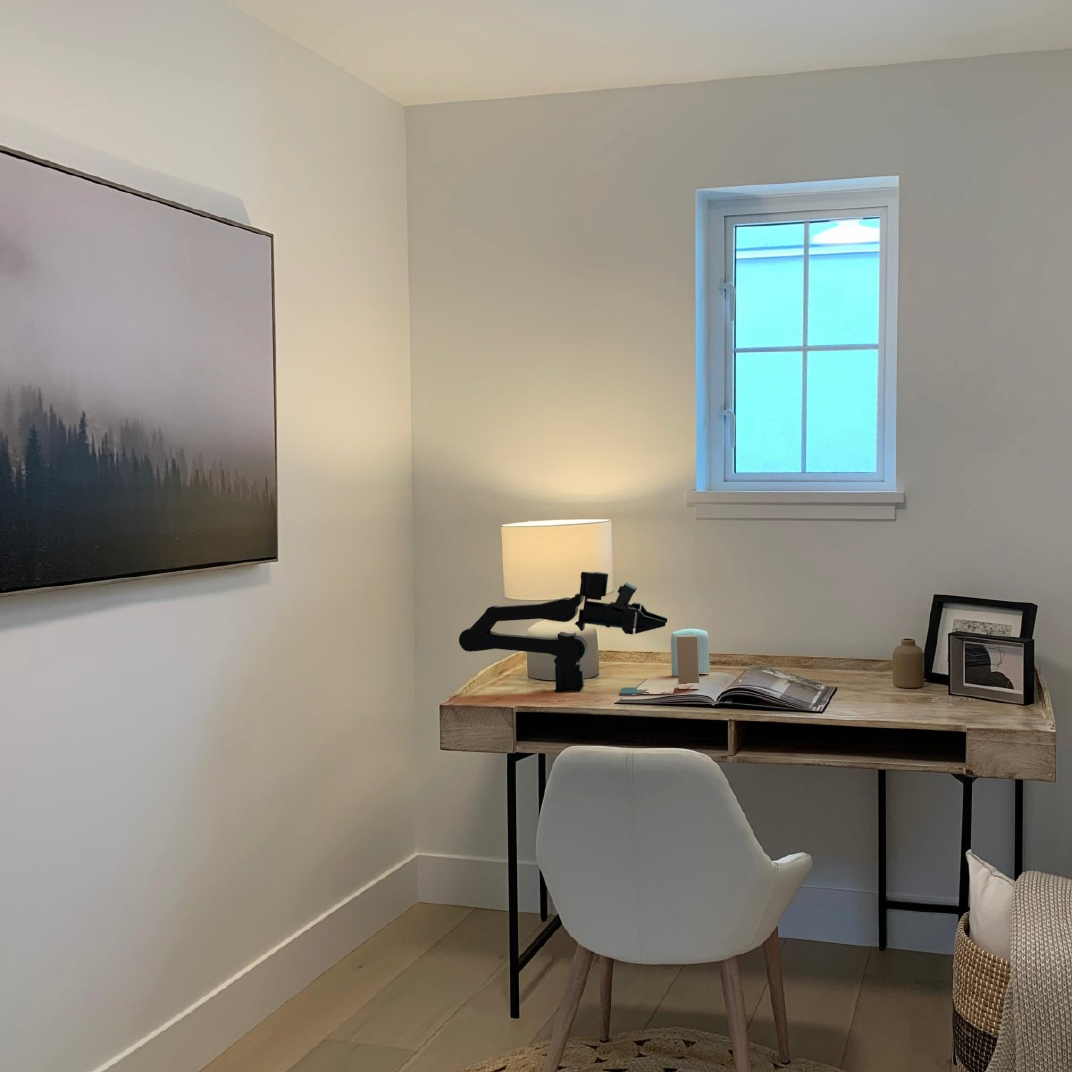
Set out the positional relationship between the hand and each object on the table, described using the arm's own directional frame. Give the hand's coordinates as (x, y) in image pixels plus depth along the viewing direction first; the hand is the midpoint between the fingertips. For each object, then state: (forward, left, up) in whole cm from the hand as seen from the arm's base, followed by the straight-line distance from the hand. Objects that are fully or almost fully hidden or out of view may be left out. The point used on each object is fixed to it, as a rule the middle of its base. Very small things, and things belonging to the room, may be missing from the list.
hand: (666, 622), depth 296 cm
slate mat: (-5, -6, -16) cm, 18 cm away
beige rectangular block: (+5, -1, -16) cm, 17 cm away
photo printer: (+5, +22, -17) cm, 28 cm away
